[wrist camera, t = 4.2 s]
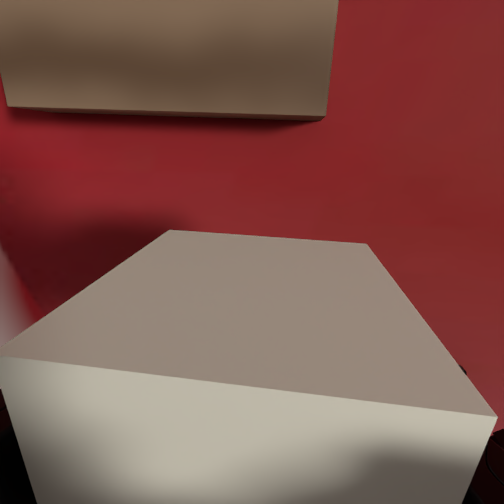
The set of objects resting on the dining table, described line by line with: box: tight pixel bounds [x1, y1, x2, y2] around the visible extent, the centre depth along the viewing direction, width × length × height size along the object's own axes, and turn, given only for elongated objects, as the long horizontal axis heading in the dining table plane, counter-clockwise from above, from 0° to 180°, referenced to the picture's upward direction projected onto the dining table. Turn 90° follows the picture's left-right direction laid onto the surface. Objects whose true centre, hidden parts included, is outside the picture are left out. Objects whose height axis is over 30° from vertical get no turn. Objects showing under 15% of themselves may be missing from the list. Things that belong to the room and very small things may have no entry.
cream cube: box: [0, 230, 498, 504], centre depth 7 cm, size 6×6×6 cm
